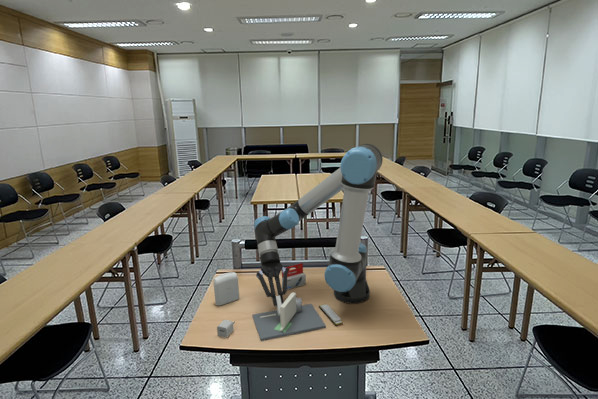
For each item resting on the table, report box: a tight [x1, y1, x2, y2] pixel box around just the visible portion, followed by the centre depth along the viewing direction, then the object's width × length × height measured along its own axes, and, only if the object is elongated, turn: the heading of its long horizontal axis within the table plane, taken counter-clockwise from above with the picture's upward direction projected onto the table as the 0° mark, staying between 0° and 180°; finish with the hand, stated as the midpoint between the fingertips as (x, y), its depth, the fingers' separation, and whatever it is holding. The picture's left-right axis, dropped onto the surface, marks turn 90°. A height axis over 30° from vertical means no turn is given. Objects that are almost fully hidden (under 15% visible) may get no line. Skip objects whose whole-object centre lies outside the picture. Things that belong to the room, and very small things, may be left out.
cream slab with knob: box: [280, 292, 303, 331], centre depth 139 cm, size 17×4×8 cm, turn 158°
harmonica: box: [318, 303, 344, 328], centre depth 144 cm, size 15×3×2 cm, turn 23°
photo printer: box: [212, 271, 240, 306], centre depth 154 cm, size 10×4×12 cm, turn 123°
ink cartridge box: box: [281, 262, 307, 291], centre depth 166 cm, size 2×11×10 cm, turn 121°
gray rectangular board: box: [251, 303, 327, 342], centre depth 140 cm, size 24×16×1 cm, turn 107°
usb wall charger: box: [216, 319, 236, 338], centre depth 135 cm, size 4×7×4 cm, turn 160°
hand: (280, 314), depth 136 cm, fingers closed
